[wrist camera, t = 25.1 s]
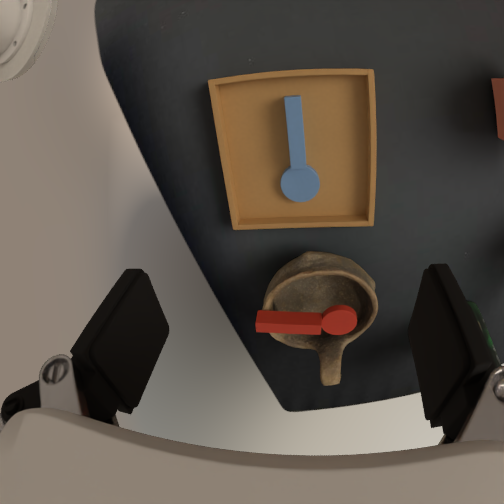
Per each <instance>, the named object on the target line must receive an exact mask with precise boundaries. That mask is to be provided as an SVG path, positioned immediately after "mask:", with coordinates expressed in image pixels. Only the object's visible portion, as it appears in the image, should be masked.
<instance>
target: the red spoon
mask: <svg viewBox="0 0 504 504" xmlns="http://www.w3.org/2000/svg"><path fill="white" fill-rule="evenodd" d="M255 324H256V332H266V333H284V334H310V335H320V334H321V327H322V328H323V330H324V331H325V332H327V333H329V334H332V335H343V334H346V333H349V332H350V331H352V330H353V329H354V328H355V327H356V324H357V315H356V312H355V311H354V309H352V308H351V307H349V306H346V305H334V306H331V307H329V308H327V309H326V310H325V311H324V312H323V314H322V313H316V312H287V311H265V310H258V312H257V317H256V322H255Z"/></svg>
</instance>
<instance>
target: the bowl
mask: <svg viewBox="0 0 504 504" xmlns="http://www.w3.org/2000/svg"><path fill="white" fill-rule="evenodd" d="M374 290H375V282H374V280H373V279H372V278H371V277H370V276H369V275H368V274H367V273H366V272H365V271H364V270H363V269H362V268H361V267H360V266H359V265H357V264H356V263H355V262H354V261H352V260H351V259H348V258H345V257H342V256H339V255H335V254H331V253H327V252H314V251H309V252H305V253H303V254H302V255H300V256H299V257H297V258H295V259H293V260H291V261H290V262H288V263H287V264H285V265H284V266H283V267H282V268H280V269H279V270H278V271H277V273H276V274H275V275H274V277H273V278H272V280H271V282H270V283H269V285H268V288H267V291H266V294H265V297H264V305H263V309H262V310H265V311H287V312H316V313H322V314H323V312H324V311H325V310H326V309H327V308H329V307H331V306H334V305H346V306H349V307H351V308H352V309H354V311H355V312H356V315H357V324H356V327H355V328H354V329H353V330H352V331H350V332H349V333H346V334H343V335H332V334H329V333H327V332H325V331H324V330H323V328H322V327H321V334H320V335H310V334H284V333H270V335H271V336H272V337H273V338H275V339H276V340H278V341H280V342H282V343H284V344H286V345H288V346H292V347H296V348H303V349H313V350H316V351H317V352H318V355H319V359H320V379H321V382H322V384H323V385H326V386H327V385H336V384H338V383H339V382H340V379H341V358H342V353H343V350H344V348H345V346H346V345H347V344H348V343H350V342H352V341H353V340H355V339H356V338H357V337H359V336H360V335H361V334H362V333H363V332H364V331H365V330H366V329H367V328H368V327H369V326H370V325H371V324H372V322H373V321H374V319H375V317H376V314H377V311H378V301H377V297H376V294H375V292H374Z"/></svg>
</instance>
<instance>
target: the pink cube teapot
mask: <svg viewBox="0 0 504 504" xmlns="http://www.w3.org/2000/svg"><path fill="white" fill-rule="evenodd" d="M491 81H492V87H493V94H494V101H495V109H496V119H497V131H498V138H500V139H502V140H504V78H491Z"/></svg>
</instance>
